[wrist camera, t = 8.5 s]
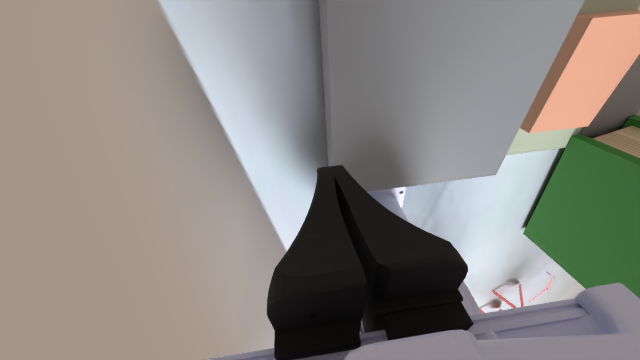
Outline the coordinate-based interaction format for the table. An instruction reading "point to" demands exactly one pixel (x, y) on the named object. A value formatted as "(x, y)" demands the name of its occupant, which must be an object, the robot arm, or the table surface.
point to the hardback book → (594, 209)
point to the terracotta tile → (585, 71)
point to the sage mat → (531, 142)
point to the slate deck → (432, 83)
